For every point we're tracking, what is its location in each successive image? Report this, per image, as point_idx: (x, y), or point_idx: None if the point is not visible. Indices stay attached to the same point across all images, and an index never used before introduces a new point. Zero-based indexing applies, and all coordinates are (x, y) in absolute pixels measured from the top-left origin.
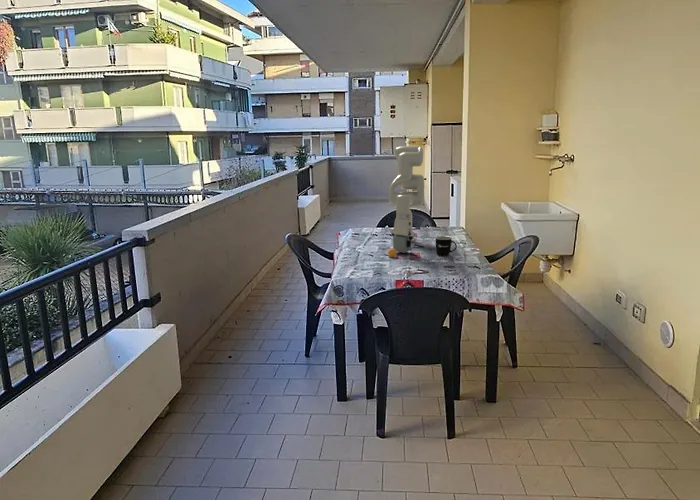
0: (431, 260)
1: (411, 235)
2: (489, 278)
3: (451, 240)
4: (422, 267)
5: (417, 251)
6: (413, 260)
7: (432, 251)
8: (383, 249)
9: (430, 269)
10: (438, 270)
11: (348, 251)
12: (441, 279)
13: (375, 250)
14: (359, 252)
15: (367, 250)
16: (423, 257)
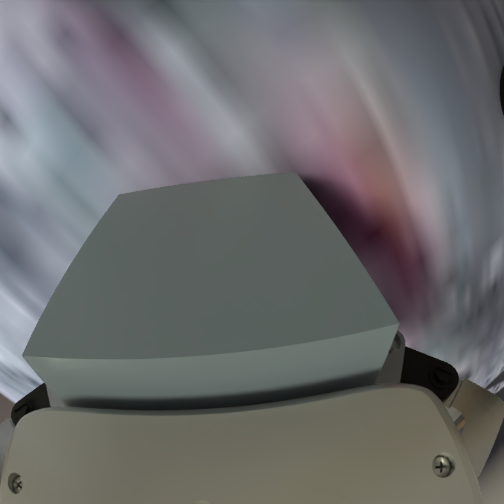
0: (489, 264)
1: (397, 325)
2: None
3: None
4: (453, 364)
5: (319, 71)
6: (402, 333)
7: (435, 5)
8: (12, 257)
9: (477, 356)
10: (498, 343)
11: (6, 385)
12: (492, 378)
13: (19, 313)
14: (35, 381)
15: (6, 337)
16: (445, 240)
